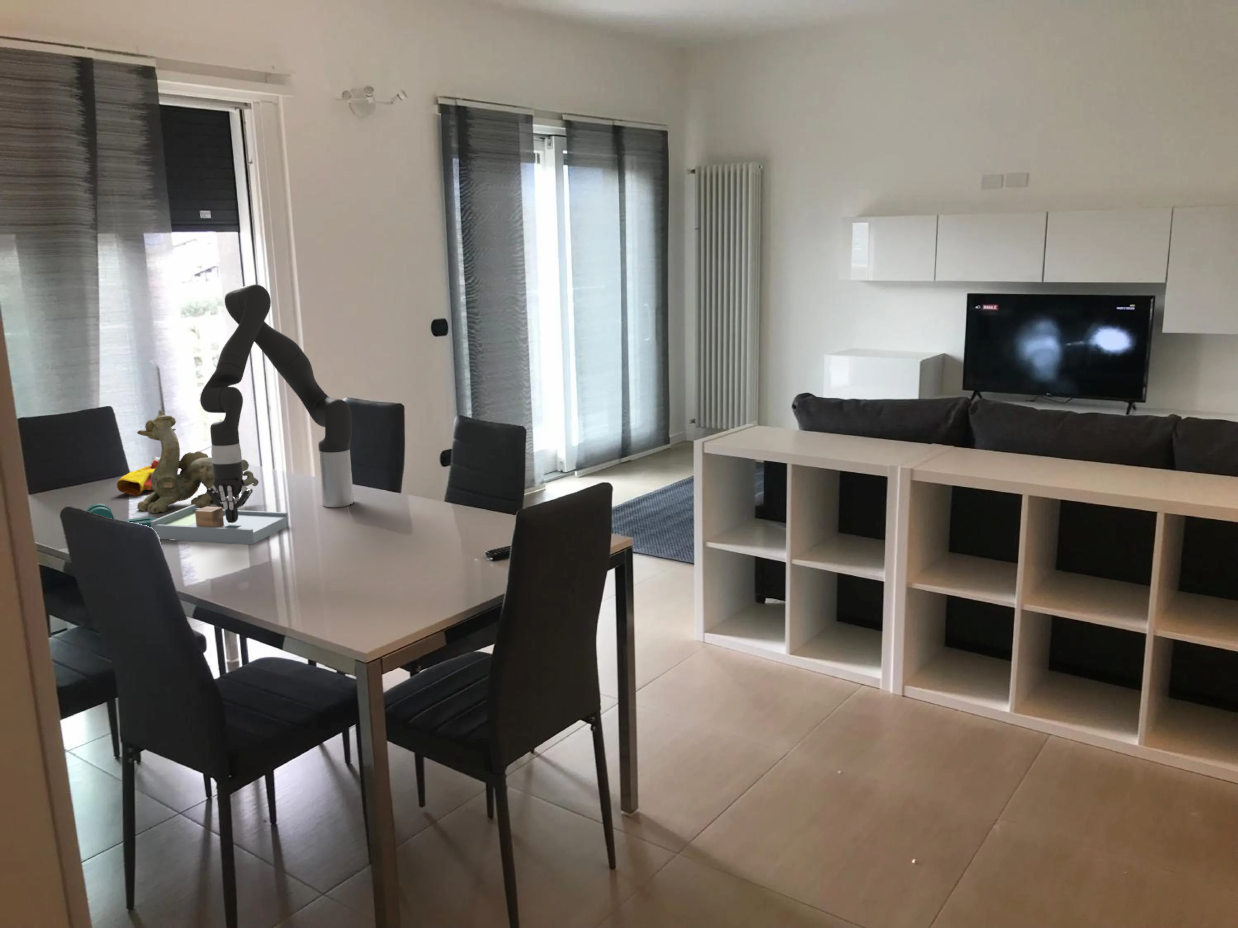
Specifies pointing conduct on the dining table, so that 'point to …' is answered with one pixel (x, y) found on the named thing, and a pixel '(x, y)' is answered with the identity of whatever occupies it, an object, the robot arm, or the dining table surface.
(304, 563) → the dining table surface
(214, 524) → the block
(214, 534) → the tray
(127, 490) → the toy
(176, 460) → the sculpture
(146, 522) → the bracket
